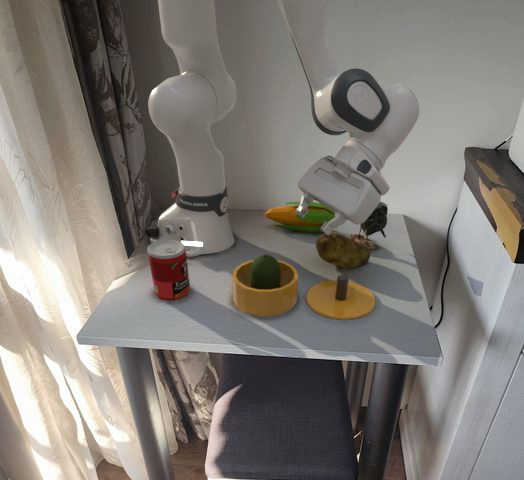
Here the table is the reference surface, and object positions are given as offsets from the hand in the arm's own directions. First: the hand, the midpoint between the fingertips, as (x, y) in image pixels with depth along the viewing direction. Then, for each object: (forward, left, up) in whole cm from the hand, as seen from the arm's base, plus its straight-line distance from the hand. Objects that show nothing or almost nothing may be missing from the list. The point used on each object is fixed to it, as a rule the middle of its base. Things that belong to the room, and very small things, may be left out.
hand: (311, 223), depth 95 cm
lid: (+9, -3, -15) cm, 17 cm away
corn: (-13, +28, -15) cm, 35 cm away
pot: (-6, -9, -15) cm, 19 cm away
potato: (+4, +13, -15) cm, 21 cm away
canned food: (-26, -15, -15) cm, 34 cm away
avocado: (-6, -9, -15) cm, 18 cm away
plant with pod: (+6, +25, -15) cm, 30 cm away
